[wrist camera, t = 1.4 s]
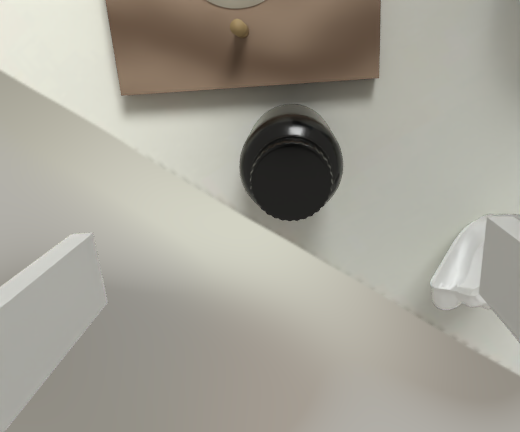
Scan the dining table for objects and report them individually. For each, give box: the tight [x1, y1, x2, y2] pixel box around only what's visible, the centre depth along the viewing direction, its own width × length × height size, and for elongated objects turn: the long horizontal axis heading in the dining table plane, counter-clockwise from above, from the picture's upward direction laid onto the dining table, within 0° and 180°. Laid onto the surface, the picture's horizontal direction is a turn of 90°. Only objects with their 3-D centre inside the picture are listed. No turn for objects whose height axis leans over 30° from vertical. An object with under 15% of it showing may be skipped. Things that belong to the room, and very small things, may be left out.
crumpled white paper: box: [430, 214, 520, 310], centre depth 33 cm, size 10×4×10 cm, turn 131°
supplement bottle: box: [240, 104, 343, 221], centre depth 30 cm, size 7×7×12 cm
